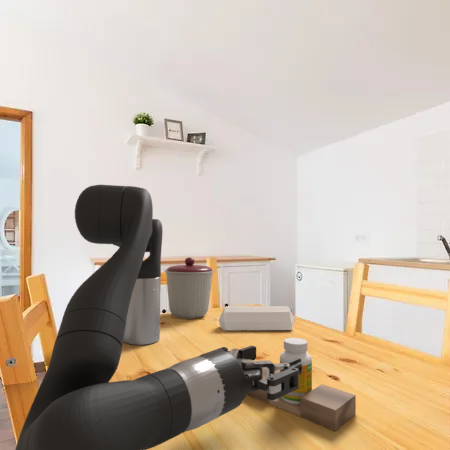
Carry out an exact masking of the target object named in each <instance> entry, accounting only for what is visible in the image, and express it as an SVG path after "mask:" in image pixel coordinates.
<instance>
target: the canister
mask: <svg viewBox="0 0 450 450" xmlns="http://www.w3.org/2000/svg"><path fill="white" fill-rule="evenodd" d="M195 261H196V260H195V259H194V258H193V257H187V258H185V260H184V263H185V264H179V265H178V264H177V265H172V266H169V267H167V269H165V270H164V273H165V275H166V285H167V286H166V288H167V296H168V306H169V311H170V314H171V315H172V316H173V317H175V318H178V319H184V318H185V320H186V319H187V320H188V319H189V320H190V319H198V318H202V317H204V316H206V315H207V313H208V310H209V307H210V298H211V290H212V282H213V273H215V270H214V269H212V267H210V266H207V265H200V264H195Z"/></svg>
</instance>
